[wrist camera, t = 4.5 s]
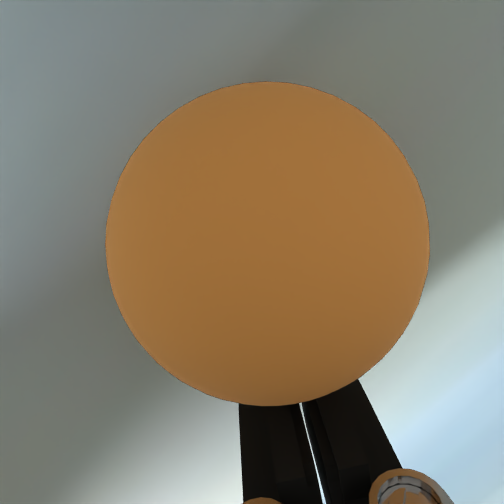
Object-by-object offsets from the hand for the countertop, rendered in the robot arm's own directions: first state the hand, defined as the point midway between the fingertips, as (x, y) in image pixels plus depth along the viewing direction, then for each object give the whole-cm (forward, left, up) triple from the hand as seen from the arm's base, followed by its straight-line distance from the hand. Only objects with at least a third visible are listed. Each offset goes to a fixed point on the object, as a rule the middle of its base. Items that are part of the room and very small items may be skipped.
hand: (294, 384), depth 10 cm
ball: (0, +5, +1) cm, 5 cm away
